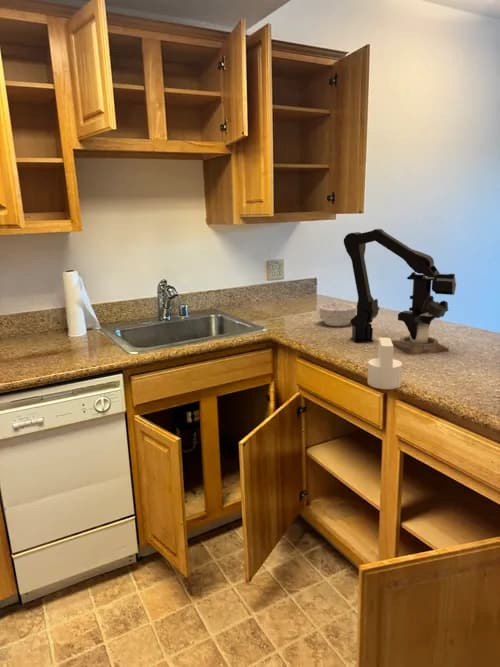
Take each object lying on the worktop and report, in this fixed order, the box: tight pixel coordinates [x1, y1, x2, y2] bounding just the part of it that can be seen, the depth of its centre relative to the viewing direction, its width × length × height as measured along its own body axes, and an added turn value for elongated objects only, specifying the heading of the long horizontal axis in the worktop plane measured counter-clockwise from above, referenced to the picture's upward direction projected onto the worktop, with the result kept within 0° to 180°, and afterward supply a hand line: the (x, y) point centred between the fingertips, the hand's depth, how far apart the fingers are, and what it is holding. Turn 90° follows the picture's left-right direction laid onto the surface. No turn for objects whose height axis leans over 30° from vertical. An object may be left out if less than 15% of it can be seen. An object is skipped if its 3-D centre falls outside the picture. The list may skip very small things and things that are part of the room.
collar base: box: [391, 335, 450, 355], centre depth 165 cm, size 14×14×2 cm
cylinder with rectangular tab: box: [367, 337, 403, 390], centre depth 131 cm, size 9×9×12 cm
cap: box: [409, 323, 430, 344], centre depth 164 cm, size 6×6×7 cm
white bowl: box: [318, 302, 357, 327], centre depth 202 cm, size 15×15×8 cm
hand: (418, 337), depth 164 cm, fingers closed on cap, 6 cm apart
